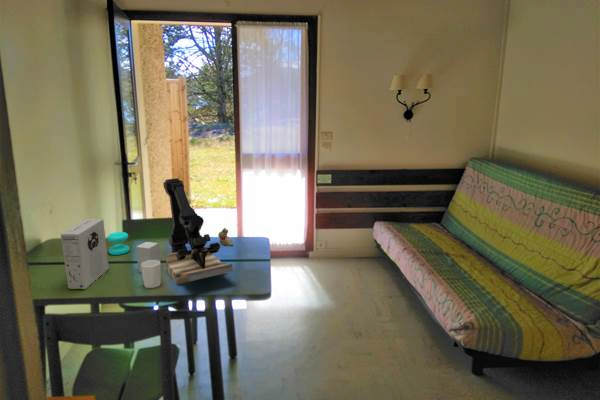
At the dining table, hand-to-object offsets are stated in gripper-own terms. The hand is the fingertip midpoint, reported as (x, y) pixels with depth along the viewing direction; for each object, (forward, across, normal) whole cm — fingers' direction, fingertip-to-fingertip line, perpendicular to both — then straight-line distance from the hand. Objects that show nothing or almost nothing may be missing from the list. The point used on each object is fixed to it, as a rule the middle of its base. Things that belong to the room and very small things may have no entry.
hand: (203, 268), depth 188 cm
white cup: (-2, -20, +11) cm, 23 cm away
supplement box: (-13, -17, +24) cm, 32 cm away
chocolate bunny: (-22, +26, +33) cm, 48 cm away
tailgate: (-1, 0, +4) cm, 4 cm away
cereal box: (-16, -42, +26) cm, 52 cm away
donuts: (-35, -25, +46) cm, 63 cm away
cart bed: (-4, 0, +13) cm, 14 cm away
